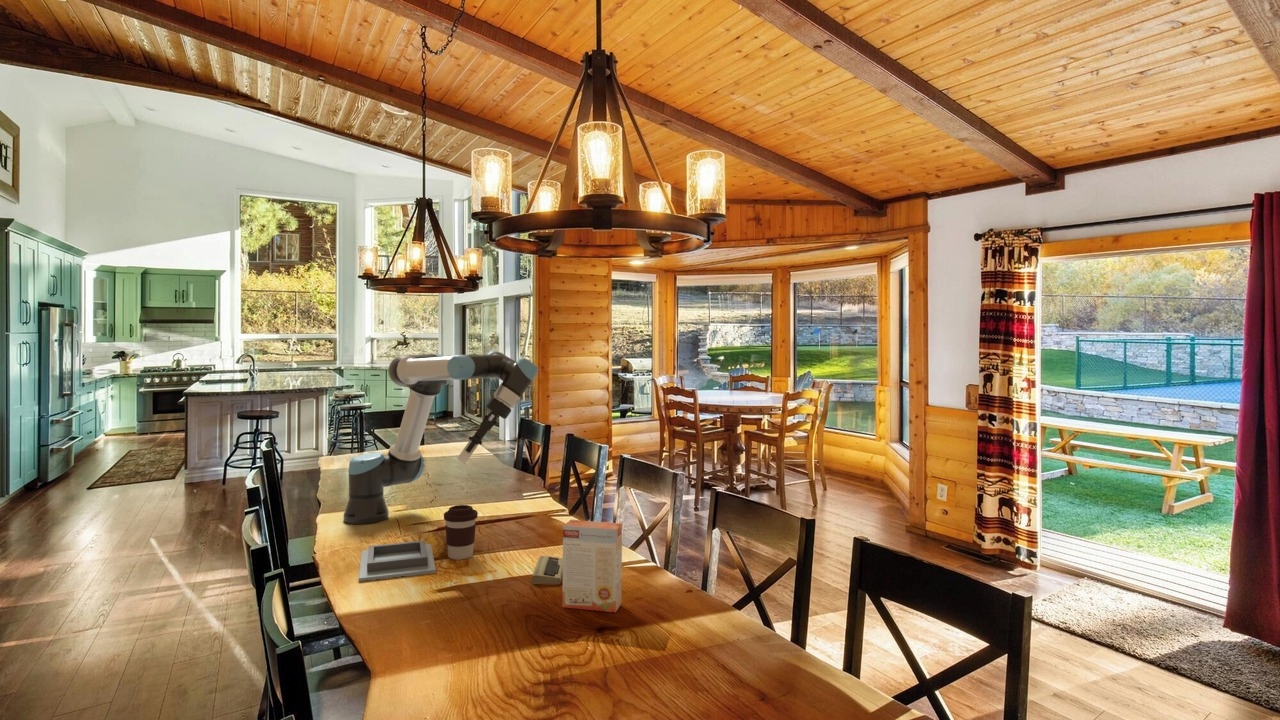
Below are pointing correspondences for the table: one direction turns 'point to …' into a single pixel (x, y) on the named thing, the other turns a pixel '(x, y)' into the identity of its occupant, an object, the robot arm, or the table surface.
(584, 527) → the cracker box
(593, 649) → the table surface
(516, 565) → the table surface
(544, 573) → the computer
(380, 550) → the pocket plate
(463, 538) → the coffee cup
